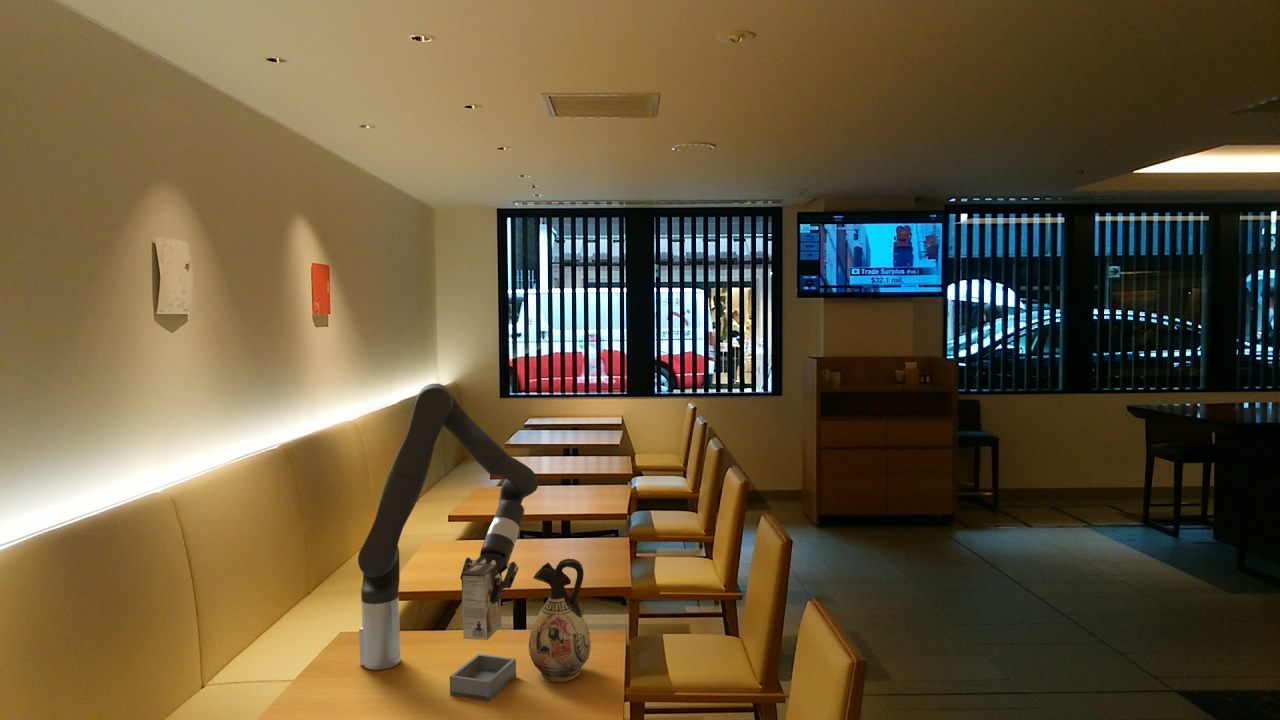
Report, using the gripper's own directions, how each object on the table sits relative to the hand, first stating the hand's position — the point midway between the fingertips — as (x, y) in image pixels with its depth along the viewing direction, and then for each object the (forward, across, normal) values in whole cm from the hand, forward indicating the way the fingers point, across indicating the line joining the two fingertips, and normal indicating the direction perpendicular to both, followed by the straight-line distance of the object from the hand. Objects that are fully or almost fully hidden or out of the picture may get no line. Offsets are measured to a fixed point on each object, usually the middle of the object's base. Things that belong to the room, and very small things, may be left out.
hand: (478, 600), depth 197 cm
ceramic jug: (+7, +16, +24) cm, 30 cm away
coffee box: (+5, 0, +7) cm, 9 cm away
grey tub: (+14, 0, +16) cm, 22 cm away
